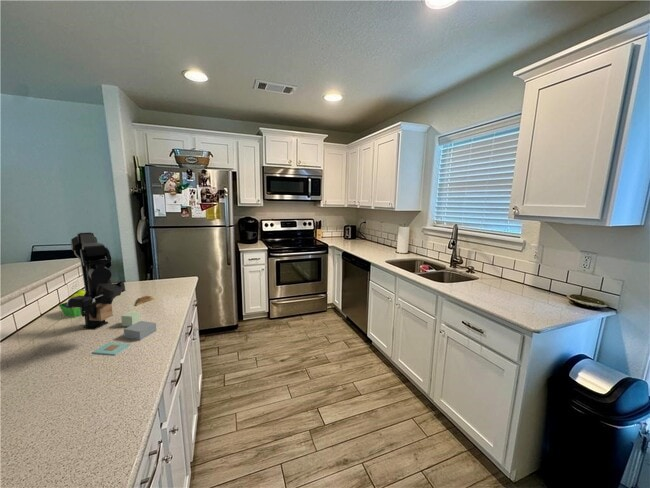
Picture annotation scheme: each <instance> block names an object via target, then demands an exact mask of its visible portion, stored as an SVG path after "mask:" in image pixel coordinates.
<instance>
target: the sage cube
mask: <svg viewBox="0 0 650 488" xmlns="http://www.w3.org/2000/svg"><path fill="white" fill-rule="evenodd" d="M120 316H121V317H120V318H121V325H122V327H129V326H131V325H133V324H135V323H137V322H139V321H142V318H141V311H134V310H133V311H131V310H130V311H128V312H126V313H124V314H122V315H120Z"/></svg>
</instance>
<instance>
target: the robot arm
mask: <svg viewBox="0 0 650 488" xmlns="http://www.w3.org/2000/svg"><path fill="white" fill-rule="evenodd" d="M70 247H71V251H72V252H74V255H75V256H76V258H78V259H79V261H80V266H81V274H82V280H83V285H84V290H85V294H84V296H80V295H79V296H76V297H74V298H71V297H70V298H69V299H68V301H67V302H68V306H69V307H80V312H81V317H82V318H83V317H84V322H85V325H83V326H82V329H89V330H97V329H98V328H101V327H103V326H104V325H106V324H108V323H109V322H108V321H106V319H105V320H103V321H94V320H89V314H90V315H91V316H92V318H96V316H97V313H96V305H97V304H99V303H105V304H112V303H113V301H114V299H115V298H116V297H119V296H121V294H122V293H123V292H125V291H126V286H125V282H124V281H122V280H121V281H119V282H114V283H112V282H111V278H112V272H111V270H109V269H108V267H107V266H106V264H111V261H112V257H111V252H110V250H109V249H108V247H106V246H105V244H103V243H100V242H98V237H96V236H95V235H94V232H89V231H88V232H79V233H77V235H76V236H74V237H73V238H71V240H70ZM112 305H113V304H112Z"/></svg>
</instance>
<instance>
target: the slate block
mask: <svg viewBox="0 0 650 488" xmlns="http://www.w3.org/2000/svg"><path fill="white" fill-rule="evenodd" d="M157 331H158V329H157V322H151V321H145V320H144V321H143V320H141V321H139V322H137V323H135V324H133V325H131V326H126V327H125V328H123V335H124V339H125V338H126V339H131V340H137V341H142V340H143V339H145V338H147V337H149V336H150V335H152V334H154V333H156V332H157Z"/></svg>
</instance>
